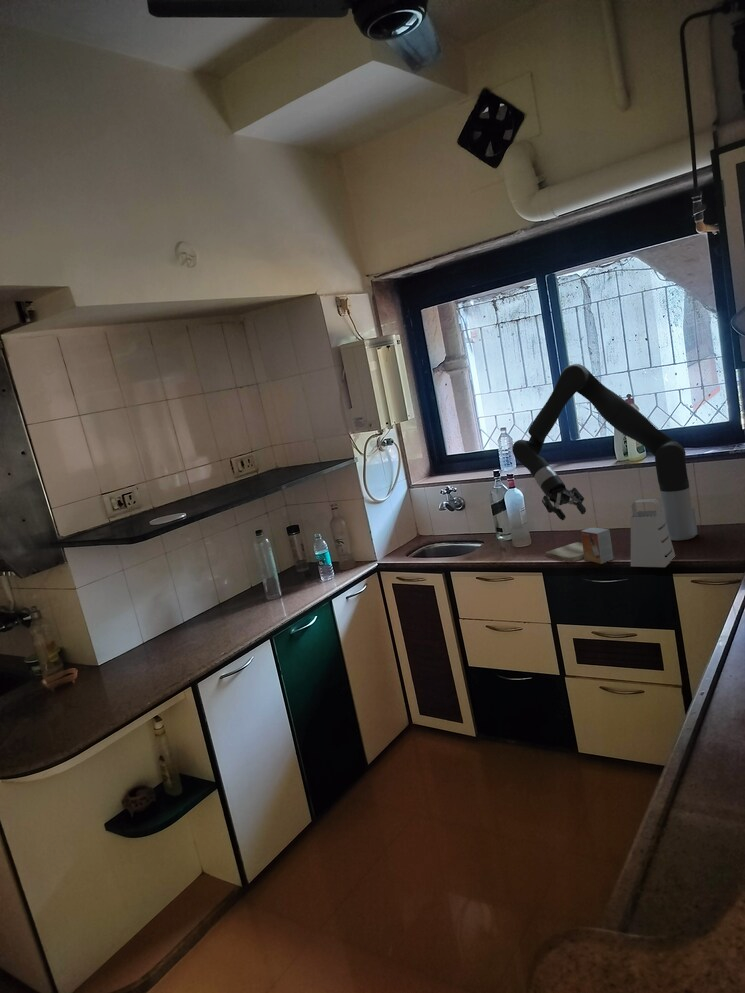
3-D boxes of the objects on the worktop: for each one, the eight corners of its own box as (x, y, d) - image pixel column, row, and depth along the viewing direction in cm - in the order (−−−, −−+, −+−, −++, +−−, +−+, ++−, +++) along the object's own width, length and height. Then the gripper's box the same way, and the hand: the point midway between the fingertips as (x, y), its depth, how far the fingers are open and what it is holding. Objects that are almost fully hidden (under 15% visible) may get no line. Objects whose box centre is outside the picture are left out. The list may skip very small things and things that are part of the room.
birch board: (577, 545, 244) (577, 542, 244) (603, 551, 231) (602, 547, 231) (546, 556, 239) (545, 552, 239) (570, 562, 226) (570, 558, 226)
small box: (584, 560, 225) (579, 530, 224) (596, 556, 228) (592, 526, 226) (601, 564, 218) (596, 533, 217) (614, 559, 220) (609, 529, 219)
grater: (642, 556, 218) (633, 497, 215) (675, 556, 211) (667, 495, 208) (630, 566, 210) (622, 505, 207) (665, 567, 203) (656, 504, 200)
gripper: (535, 479, 233) (561, 514, 225) (569, 470, 238) (594, 504, 229) (529, 493, 239) (553, 527, 230) (562, 484, 244) (587, 517, 235)
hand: (574, 515), depth 230 cm, fingers open, 8 cm apart
